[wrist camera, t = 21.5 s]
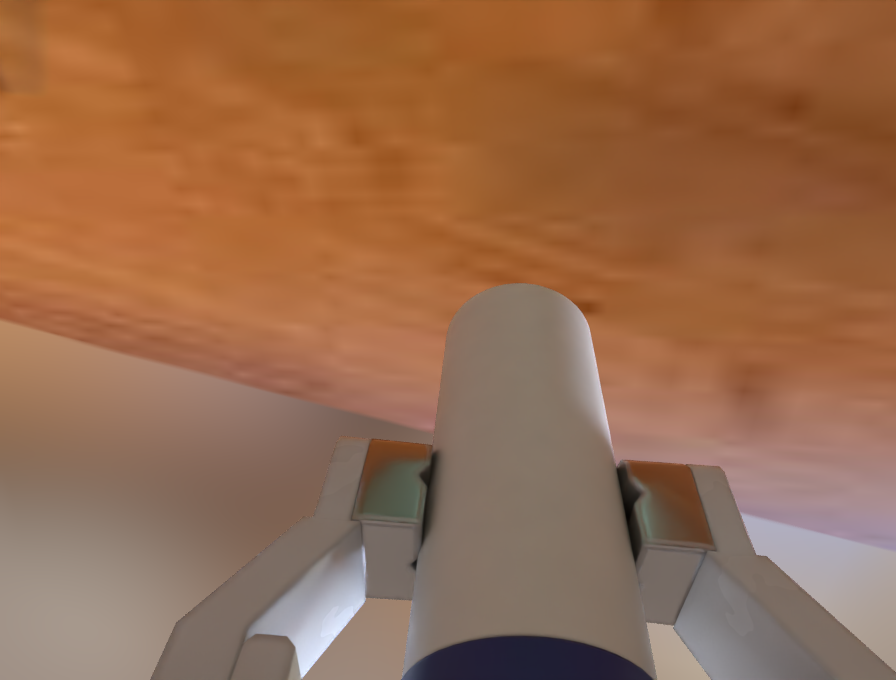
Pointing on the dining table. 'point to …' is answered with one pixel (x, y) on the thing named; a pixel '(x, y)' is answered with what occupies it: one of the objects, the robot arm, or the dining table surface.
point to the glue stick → (524, 507)
